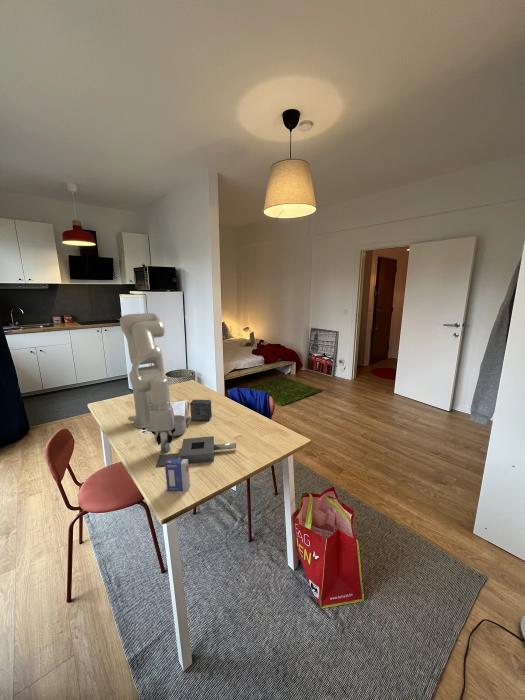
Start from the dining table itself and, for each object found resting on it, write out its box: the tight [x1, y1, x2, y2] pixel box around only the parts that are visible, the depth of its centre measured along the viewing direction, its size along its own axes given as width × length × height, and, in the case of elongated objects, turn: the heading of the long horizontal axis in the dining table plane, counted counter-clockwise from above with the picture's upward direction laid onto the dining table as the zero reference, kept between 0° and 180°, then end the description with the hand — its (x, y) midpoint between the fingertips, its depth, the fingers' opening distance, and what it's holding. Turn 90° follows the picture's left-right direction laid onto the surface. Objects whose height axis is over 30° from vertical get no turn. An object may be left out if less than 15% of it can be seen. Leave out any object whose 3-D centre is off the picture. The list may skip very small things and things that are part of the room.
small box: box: [189, 399, 213, 422], centre depth 162 cm, size 11×6×10 cm, turn 84°
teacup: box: [172, 414, 191, 437], centre depth 147 cm, size 14×11×8 cm
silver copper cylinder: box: [159, 431, 171, 454], centre depth 131 cm, size 4×4×12 cm
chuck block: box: [179, 435, 237, 465], centre depth 130 cm, size 24×14×4 cm, turn 99°
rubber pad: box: [155, 452, 179, 468], centre depth 125 cm, size 8×8×1 cm
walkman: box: [164, 458, 191, 492], centre depth 106 cm, size 8×3×12 cm, turn 89°
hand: (164, 442), depth 131 cm, fingers closed on silver copper cylinder, 4 cm apart
